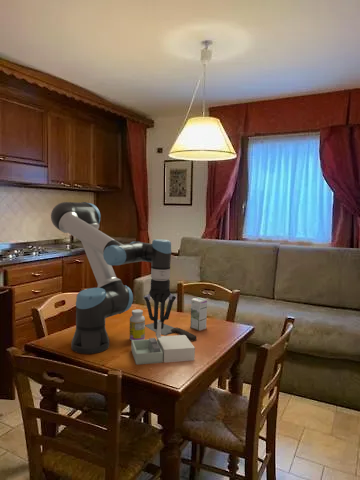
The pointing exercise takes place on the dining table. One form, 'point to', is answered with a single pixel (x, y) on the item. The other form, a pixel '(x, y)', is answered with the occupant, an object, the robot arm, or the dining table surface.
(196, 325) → the syrup box
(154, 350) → the slate tile
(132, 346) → the box
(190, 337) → the cleaver
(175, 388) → the dining table surface
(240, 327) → the dining table surface
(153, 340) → the slate tile
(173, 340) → the plate
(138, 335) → the supplement bottle
